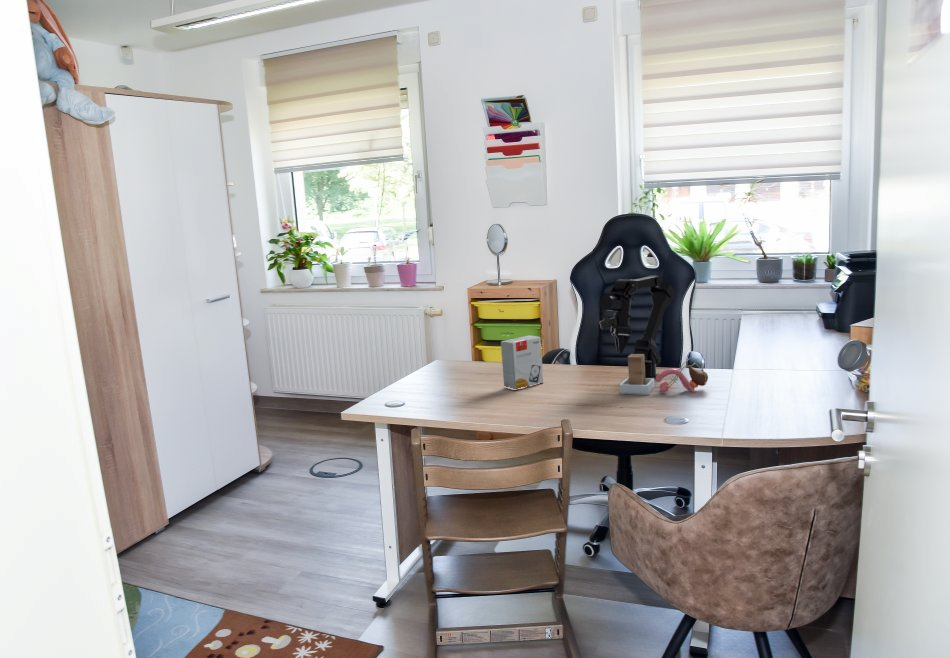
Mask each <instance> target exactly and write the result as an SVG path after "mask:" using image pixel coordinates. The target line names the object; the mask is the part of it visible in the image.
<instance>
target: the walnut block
mask: <svg viewBox="0 0 950 658" xmlns="http://www.w3.org/2000/svg"><path fill="white" fill-rule="evenodd" d="M627 366H628V367H627V368H628V378H629V385H646V378H645V359H644V354H634V353H631V354H629V355H628V356H627Z"/></svg>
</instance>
